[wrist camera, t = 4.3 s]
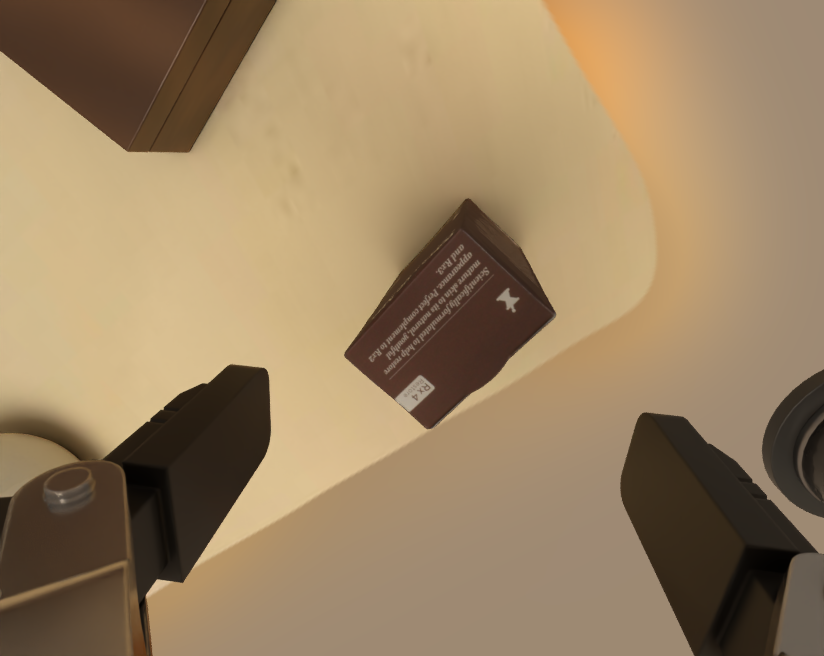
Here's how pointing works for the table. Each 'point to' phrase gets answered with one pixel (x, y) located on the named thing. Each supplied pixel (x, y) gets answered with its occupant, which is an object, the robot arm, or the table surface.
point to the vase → (27, 460)
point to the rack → (134, 60)
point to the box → (452, 318)
